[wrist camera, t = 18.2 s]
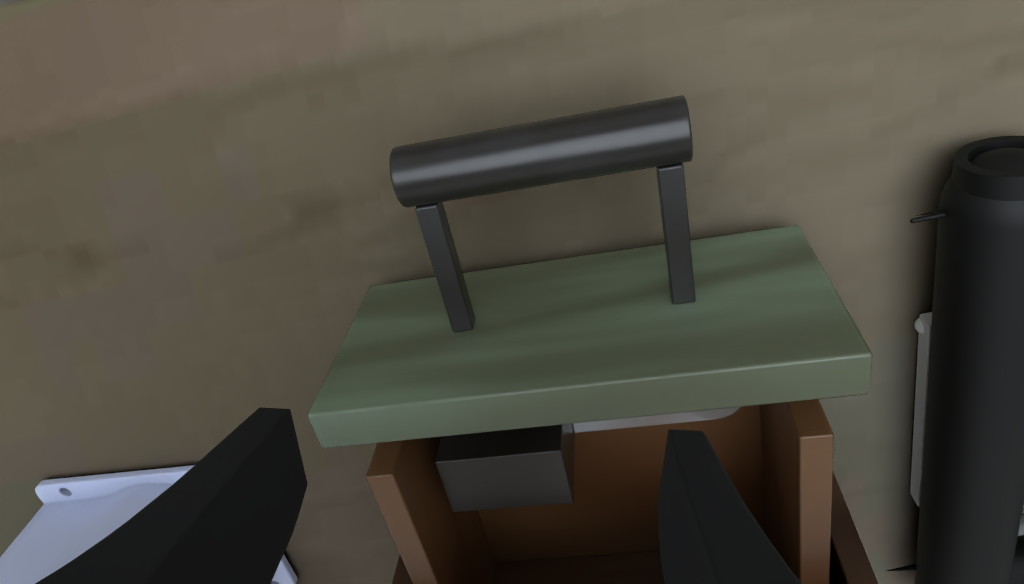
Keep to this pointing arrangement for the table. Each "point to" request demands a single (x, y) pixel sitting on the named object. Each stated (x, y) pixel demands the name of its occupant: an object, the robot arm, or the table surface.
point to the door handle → (973, 376)
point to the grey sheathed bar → (527, 461)
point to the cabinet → (847, 555)
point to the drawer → (592, 364)
